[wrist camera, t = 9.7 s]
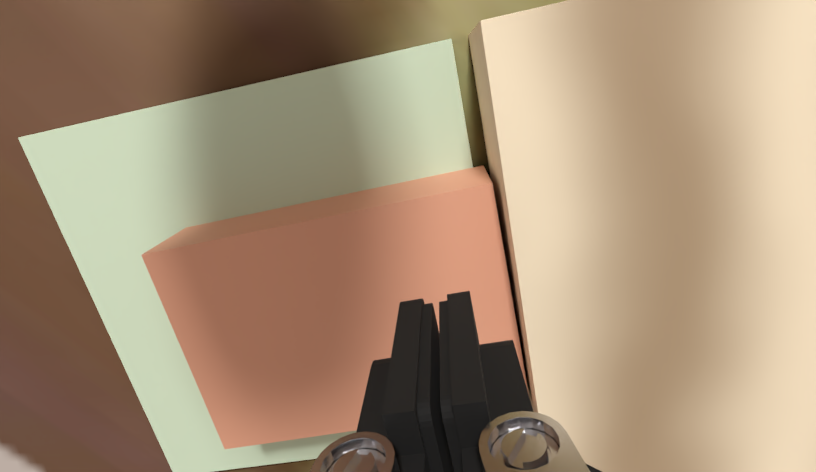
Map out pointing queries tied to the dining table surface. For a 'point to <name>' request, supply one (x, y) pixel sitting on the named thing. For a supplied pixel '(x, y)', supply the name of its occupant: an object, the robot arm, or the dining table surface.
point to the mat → (234, 200)
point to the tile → (325, 297)
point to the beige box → (660, 224)
